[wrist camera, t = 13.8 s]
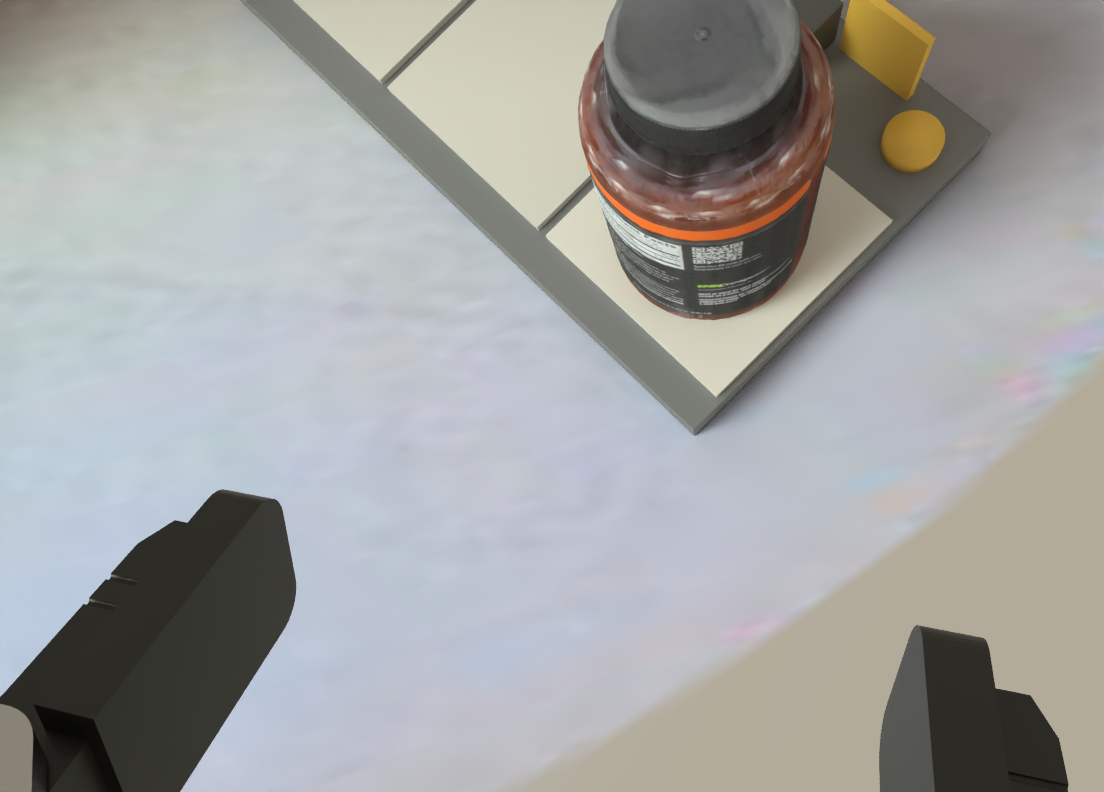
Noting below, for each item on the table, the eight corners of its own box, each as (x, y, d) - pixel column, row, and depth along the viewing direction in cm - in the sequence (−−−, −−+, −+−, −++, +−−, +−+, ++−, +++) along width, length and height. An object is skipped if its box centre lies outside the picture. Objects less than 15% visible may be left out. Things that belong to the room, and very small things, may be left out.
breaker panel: (240, 0, 37) (177, -78, 32) (482, -235, 37) (452, -343, 33) (694, 436, 30) (691, 410, 26) (981, 150, 31) (1023, 79, 26)
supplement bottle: (729, 111, 31) (737, -154, 20) (846, 251, 29) (926, 48, 18) (577, 219, 31) (502, 16, 20) (686, 364, 29) (669, 230, 18)
